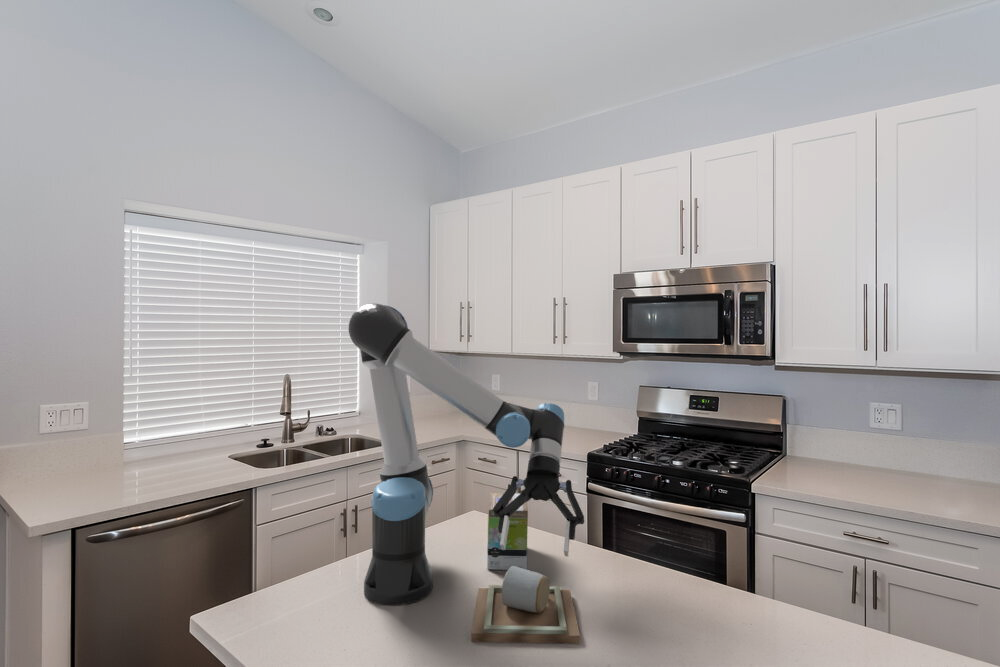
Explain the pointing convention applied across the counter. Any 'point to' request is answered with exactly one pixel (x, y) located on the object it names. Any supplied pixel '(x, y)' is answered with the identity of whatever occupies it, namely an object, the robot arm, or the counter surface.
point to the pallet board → (524, 619)
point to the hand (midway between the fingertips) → (533, 550)
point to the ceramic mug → (525, 590)
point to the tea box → (515, 539)
